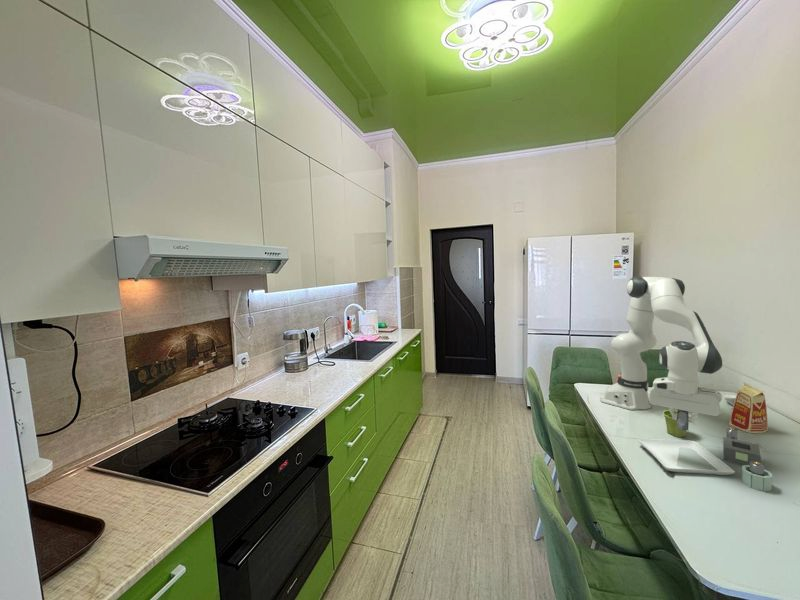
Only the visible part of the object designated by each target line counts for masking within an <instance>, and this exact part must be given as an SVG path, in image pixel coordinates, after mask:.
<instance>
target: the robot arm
mask: <svg viewBox="0 0 800 600" xmlns="http://www.w3.org/2000/svg"><path fill="white" fill-rule="evenodd" d="M685 291H686V286H685V283H684V281H682V280H681V279H677V278H675V277H674V278H671V277H670V278H669V277H664V276H638V275H637V276H633V277H631V278H630V279H629V280H628V282H627V285H626V292H627V294H628V296H629V297H630V298H631V299H630V302H629V305H628V309H627V314H626V317H625V319H626V322H627V324H628V325H629V331H628V332H626V333H621V334H619V335H617V336H615V337H613V338H612V339H611V342H610V347H611V349H612V350H613V352H615V354H617V356H618V358H619V361H620V373H621V374H618V375H617V376H616V377H617V378H616V383H613V384H611V385H610V386H607V387H606V389H605V392H604V393H603V394H601V395H600V396H599V401H600V402H601V403H604V404H607V405H612V406H614V407H617V408H618V407H619V408H623V409H626V410H629V411H636V410H647V409H648V410H649V409H650V408H651V407H652V405H653V406H659V407H664V408H668V410H669V411H670V413H671V414H672V419H675V420H677V414H675V413H674V411H675V410H677V409H680V410H685V411H688V412H690V413H692V415H689V417H688V423H691V424H694V421H695V419H696V418H697V417H698V415H699V414H702V415H707V416H714V417H719V416H721V405H720V402H722V400H723V398H722V397H723V396H722V394H721V392H720V391H717V390H716V389H713V388H711V389H710V388H704V387H700V386H699V385H700V380H699V379H700V378H699V375H698V373H703V374H709V375H712V374H714V373H716V372H718V371H720V370H721V369H722V367H723V358H722V356H721V354H720V351H719V350H718V348H717V347H716V346H715V343H714V342H713V341H712V338H711V336H710V334H709V333H708V330H707V328H706V326H705V324H704V322H703V321H702V319H701V317H700V315H699V314H698V313H697V311H694V310H692V309H690V308H689V307H688V306H687V305H686V303H685V301H684V300H685V299H684V297H683V296H684V295H685ZM655 317H656V318H657V319H659V320H661V321H662V322H665V323H668V324H673V325H676V326H679V327H682V328H685V329H687V330H688V331H689V332H690V333H691V335H692V337H693V340H694V341H695V343H692V342H689V341H683V340H676V341H672V342H670V343H669V345H667V346H662V348H660V349H659V350H658V364H659V365H660V366H661V367H663V368H664V369H665V370H668V373H667V376H665V377H656V378H655V379H654V380H653V382H652V387H651V388H650V391H649V393H648V390H649V381H648V368H647V367H648V366H647V364H646V363H645V361H643V359H642V355H641V353H642V352H647V351H649V350H652V349H653V348H654V347H655V346H657V337H656V335H654V331H653V324H654V323H653V322H654V318H655ZM648 394H649V395H648ZM674 409H675V410H674ZM673 410H674V411H673Z"/></svg>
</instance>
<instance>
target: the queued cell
mask: <svg viewBox="0 0 800 600" xmlns="http://www.w3.org/2000/svg"><path fill="white" fill-rule="evenodd" d="M725 435H726V436H725V437H727V438H731V439H736V440H739V429H737V428H735V427H726V434H725Z"/></svg>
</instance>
